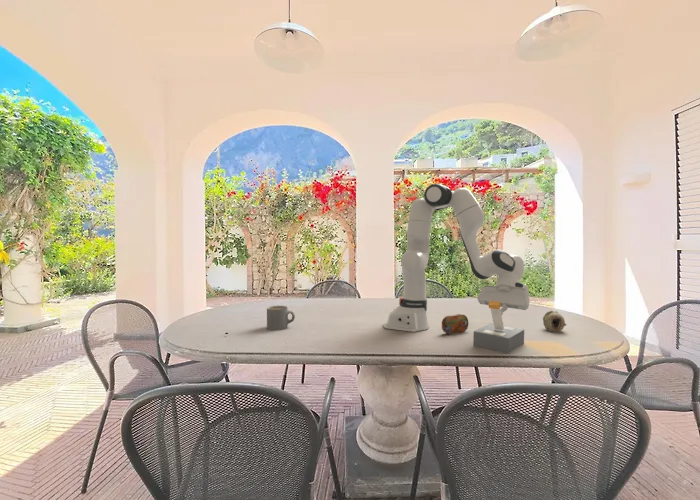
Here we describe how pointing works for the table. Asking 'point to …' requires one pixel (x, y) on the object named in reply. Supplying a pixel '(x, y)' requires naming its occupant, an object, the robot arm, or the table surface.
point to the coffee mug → (278, 317)
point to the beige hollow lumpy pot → (553, 321)
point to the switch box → (498, 338)
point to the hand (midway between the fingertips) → (497, 314)
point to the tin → (455, 324)
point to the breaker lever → (496, 314)
